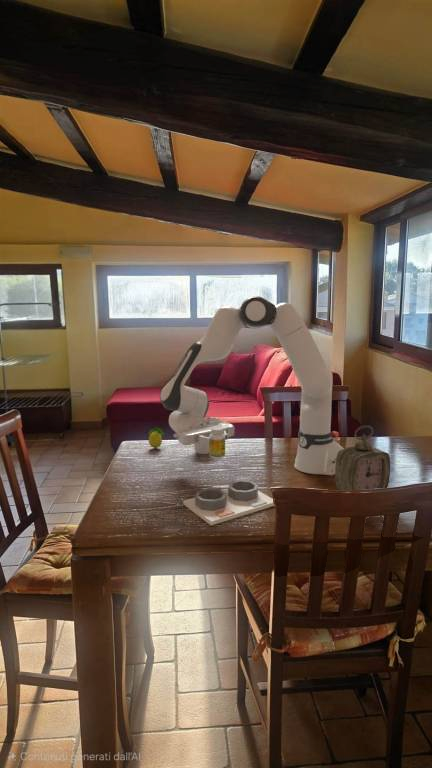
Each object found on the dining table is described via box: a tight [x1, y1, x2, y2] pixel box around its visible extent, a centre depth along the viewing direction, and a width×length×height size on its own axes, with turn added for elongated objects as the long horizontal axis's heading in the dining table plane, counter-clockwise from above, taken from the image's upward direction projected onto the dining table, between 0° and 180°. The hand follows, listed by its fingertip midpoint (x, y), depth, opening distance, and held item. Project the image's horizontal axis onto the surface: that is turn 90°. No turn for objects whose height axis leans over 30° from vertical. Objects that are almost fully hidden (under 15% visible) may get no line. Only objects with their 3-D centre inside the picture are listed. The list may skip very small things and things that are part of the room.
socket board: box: [182, 479, 274, 526], centre depth 143 cm, size 24×16×4 cm, turn 123°
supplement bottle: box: [208, 427, 226, 459], centre depth 154 cm, size 5×5×10 cm
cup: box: [193, 443, 209, 455], centre depth 192 cm, size 11×8×8 cm
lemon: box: [148, 428, 164, 450], centre depth 195 cm, size 7×6×10 cm
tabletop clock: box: [334, 425, 391, 491], centre depth 142 cm, size 14×9×25 cm, turn 114°
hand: (218, 439), depth 153 cm, fingers closed on supplement bottle, 5 cm apart
